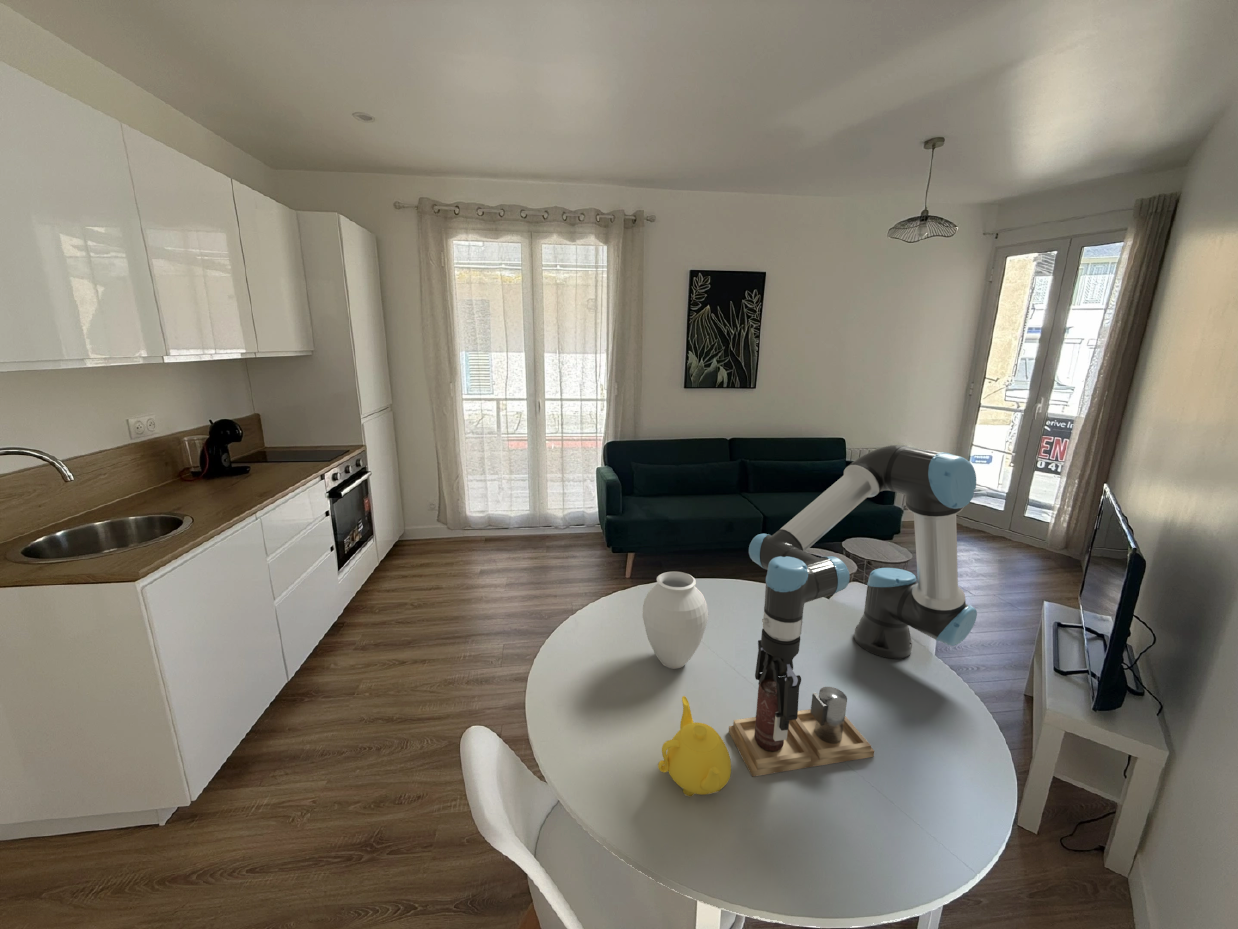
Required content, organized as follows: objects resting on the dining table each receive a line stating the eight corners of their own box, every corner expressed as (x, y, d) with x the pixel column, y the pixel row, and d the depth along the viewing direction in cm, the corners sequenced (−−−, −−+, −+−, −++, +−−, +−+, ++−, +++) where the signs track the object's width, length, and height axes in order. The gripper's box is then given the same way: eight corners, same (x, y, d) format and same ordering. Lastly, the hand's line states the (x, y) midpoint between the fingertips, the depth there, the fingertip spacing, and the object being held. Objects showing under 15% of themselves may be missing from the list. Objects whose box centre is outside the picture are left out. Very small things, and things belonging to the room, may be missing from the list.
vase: (632, 671, 129) (633, 587, 123) (652, 636, 145) (654, 560, 139) (697, 689, 123) (701, 601, 117) (711, 650, 139) (715, 571, 133)
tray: (838, 715, 114) (840, 705, 113) (873, 756, 103) (875, 745, 102) (728, 731, 109) (729, 720, 108) (752, 776, 98) (753, 764, 97)
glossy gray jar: (831, 722, 110) (836, 685, 108) (847, 742, 105) (852, 703, 102) (806, 726, 109) (810, 688, 106) (820, 746, 103) (825, 706, 101)
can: (786, 755, 101) (792, 698, 98) (755, 751, 102) (760, 694, 99) (782, 733, 107) (787, 678, 104) (753, 729, 108) (757, 675, 105)
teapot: (646, 743, 106) (647, 699, 103) (709, 734, 108) (712, 691, 106) (672, 831, 86) (674, 779, 84) (748, 817, 89) (753, 767, 86)
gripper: (743, 609, 106) (737, 697, 112) (788, 663, 88) (778, 766, 93) (774, 606, 108) (766, 693, 113) (825, 658, 89) (812, 760, 95)
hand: (771, 726), depth 103 cm, fingers open, 6 cm apart
